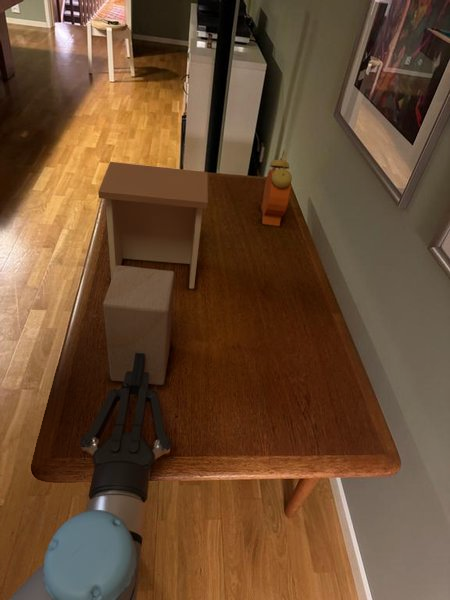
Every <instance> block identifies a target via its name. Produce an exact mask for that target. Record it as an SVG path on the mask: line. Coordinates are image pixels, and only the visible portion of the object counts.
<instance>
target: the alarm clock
mask: <svg viewBox="0 0 450 600" xmlns="http://www.w3.org/2000/svg"><path fill="white" fill-rule="evenodd" d="M283 157H284V160H283ZM269 167H270V168H273V169H269V170H268V172H267V174H266V178H265V179H266V180H265V183H264V187H263V195H262V196H263V197H262V203H261V206H260V211H261V212H262V213H261V214H262V217H261V223H262V225H268V226H269V225H270V226H275V227H276V226H277V227H280V225H281V220H282V217H283V216H285V214H286V211H287V208H288V206H289V201H290V197H291V192H292V191H291V190H292V180H293V176H292V173H291V171H289V169H290V164H289V162H287V157H286V151H285V150H282V154H281V157H280V158H279V159H273V160H272V161H271V162H270V164H269Z"/></svg>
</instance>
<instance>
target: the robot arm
mask: <svg viewBox="0 0 450 600" xmlns="http://www.w3.org/2000/svg"><path fill="white" fill-rule="evenodd" d="M144 365H145V354H144V353H136V354H135V359H134V365H133V371H127V372H126V373H125V378H124V382H123V383H122V384H121V388H119V389H116V388H111V389H110V390H109V392H108V394H107V396H106V397H105V399H104V401H103V404H102V405H101V407H100V410H99V411H98V414H97V415H96V418H95V419H94V421H93V423H92V425H91V427H90V429H89V430H88V431H87V433H85V434H84V435H83V436H82V437H81V438H80V440H79V444H80V449H81V452H82V453H83V454H88V455H90V456H91V457H92V462H93V464H94V467H93V471H92V472H93V473H92V476H91V480H90V486H89V490H88V499H89V500H88V501H87V502H86V505H85V509H84V511H83V512H80V513H78V514H76V515H74V516H72V517H71V518H69V519H68V520H66V521H65V522H64V523H63V524H62V525H61V526H60V527H59V528H58V529H57V531H56V532H55V533H54V535H53V536H52V538H51V540H50V542H49V544H48V546H47V549H46V551H45V554H44V558H43V563H42V565H41V566H39V568H38V569H37V570H35V572H34V573H33V574H31V575H30V577H28V579H26V581H25V582H23V584H22V585H21V586H19V588H18V589H17V590H16V591H14V593H13V594H11V596H10V597H9V598H8V599H7V600H137V597H138V589H139V588H138V586H139V577H140V564H141V553H142V546H143V539H144V531H145V522H146V514H147V504H146V503H145V502H146V501H147V500H148V496H149V495H148V493H149V485H150V475H151V471H152V468H153V466H154V465H155V463H156V459H159V458H160V457H162V456H164V457H167V456H169V455H170V454H171V446H172V443H171V441H170V439H169V438H168V436H167V434H166V433H165V427H164V421H163V416H162V415H163V414H162V409H161V408H162V407H161V404H160V397H159V392H158V391H157V390H150V389H149V385H150V384H149V373H148V372H144ZM131 395H132V396H137V402H136V407H135V412H134V413H135V414H134V420H133V425H132V430H131V432H126V428H127V427H126V425H127V420H128V413H129V407H130V403H131V402H130V401H131ZM147 403H149V404H150V411H151V418H152V424H153V431H154V436H155V437H154V438H155V441H153V449H152V447H151V446H150V444H149V443H148V441H147V440H146V438H145V437H144V435H143V431H144V430H143V429H144V422H145V415H146V407H147ZM117 404H118V408H117V414H116V418H115V419H116V420H115V424H114V426H113V433H112V434H111V435H110V436H109V437H107V438H106V440H105V441H104V442H102V444H100V440H101V437H102V436H103V434H104V432H105V429H106V427H107V426H108V424H109V421H110V419H111V417H112V415H113V414H114V410H115V409H116V406H117Z"/></svg>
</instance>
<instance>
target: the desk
mask: <svg viewBox="0 0 450 600" xmlns="http://www.w3.org/2000/svg"><path fill="white" fill-rule="evenodd" d="M208 176H209V173H208V172H207V171H198V170H189V169H183V168H182V169H181V168H174V167H173V168H172V167H171V168H170V167H162V166H152V165H145V164H137V163H136V164H135V163H125V162H117V161H109V163H108V166H107V169H106V171H105V174H104V176H103V178H102V181H101V183H100V186H99V188H98V190H97V191H98V199H101V200H102V199H104V200H105V213H106V224H107V225H106V227H107V240H108V251H109V252H108V253H109V268H110V279H111V280H112V277H113V274H114V271H115V268H116V266H117V265H121V266H122V263H123V259H124V260H136V261H146V262H147V261H148V262H149V261H150V262H161V263H172V264H173V263H174V264H187V265H189V281H188V284H189V285H188V287H189V288H188V289H195V283H196V274H197V265H198V258H199V257H198V256H199V246H200V239H201V237H200V236H201V229H202V219H203V209H206V210H207V209H208V207H209V206H208V205H209V180H208V179H209V177H208ZM111 280H110V281H111Z"/></svg>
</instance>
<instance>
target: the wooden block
mask: <svg viewBox="0 0 450 600" xmlns="http://www.w3.org/2000/svg"><path fill="white" fill-rule="evenodd" d="M174 285H175V272H174V271H173V270H166V269H165V270H164V269H155V268H148V267H137V266H130V265H122V264H121V265H117V266H116V268H115V271H114V274H113V277H112V280H110V282H109V286H108V288H107V291H106V294H105V297H104V300H103V303H102V307H103V316H104V328H105V337H106V346H107V347H106V348H107V357H108V358H107V359H108V366H109V379H110V381H112V382H123V383H124V378H125V373H126V372H127V371H133V365H134V359H135V354H136V353H144V354H145V365H144V372H148V373H149V384H148V385H154V386H155V385H156V386H163V385H164V384H165V381H166V376H167V370H168V362H169V356H170V350H171V349H170V348H171V337H172V336H171V335H172V321H173V320H172V319H173V306H174V305H173V304H174V302H173V301H174V289H175V288H174V287H175V286H174Z"/></svg>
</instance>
